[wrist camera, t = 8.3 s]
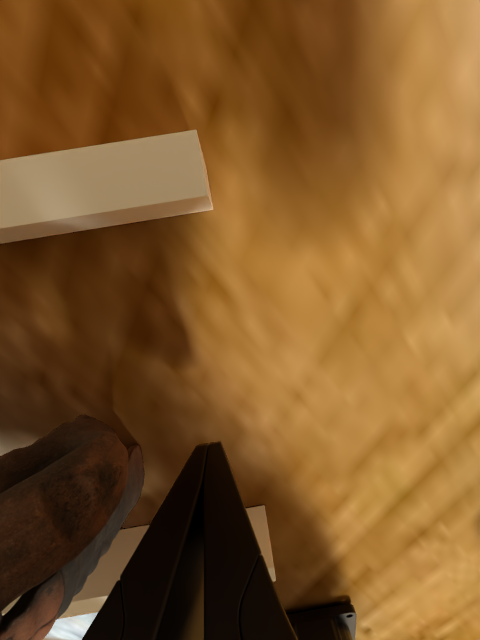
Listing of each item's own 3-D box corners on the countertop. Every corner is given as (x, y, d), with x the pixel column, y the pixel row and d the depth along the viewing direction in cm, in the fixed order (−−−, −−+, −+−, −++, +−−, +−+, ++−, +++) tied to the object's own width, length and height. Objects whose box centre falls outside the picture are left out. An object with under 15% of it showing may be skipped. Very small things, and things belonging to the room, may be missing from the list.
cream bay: (266, 518, 13) (276, 581, 10) (-14, 566, 13) (-68, 640, 10) (206, 167, 7) (196, 129, 5) (-323, 250, 7) (-616, 256, 4)
